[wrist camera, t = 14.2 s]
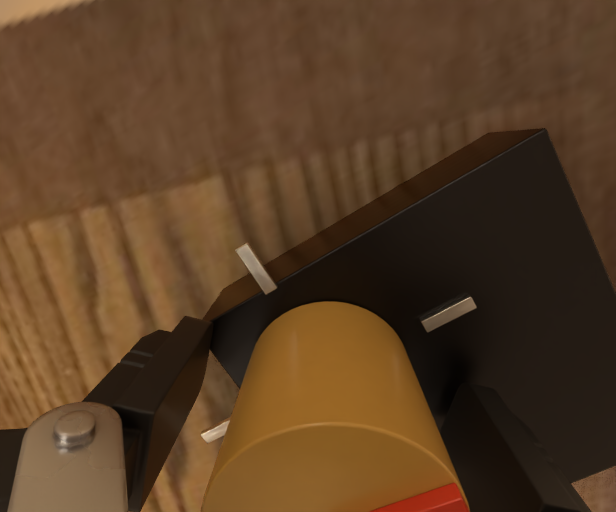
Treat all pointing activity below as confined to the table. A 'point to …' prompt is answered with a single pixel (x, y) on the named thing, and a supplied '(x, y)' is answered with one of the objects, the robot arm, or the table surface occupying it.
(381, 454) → the dimmer knob
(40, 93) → the table surface
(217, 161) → the table surface
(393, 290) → the panel
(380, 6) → the table surface
